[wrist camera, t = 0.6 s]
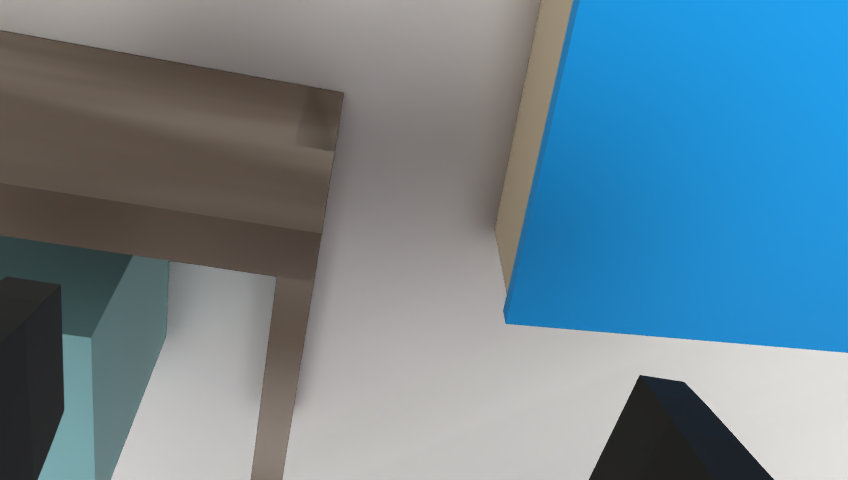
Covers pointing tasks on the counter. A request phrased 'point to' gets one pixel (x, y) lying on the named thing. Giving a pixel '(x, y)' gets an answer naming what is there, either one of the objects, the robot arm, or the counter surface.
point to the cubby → (174, 179)
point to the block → (97, 345)
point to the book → (682, 172)
